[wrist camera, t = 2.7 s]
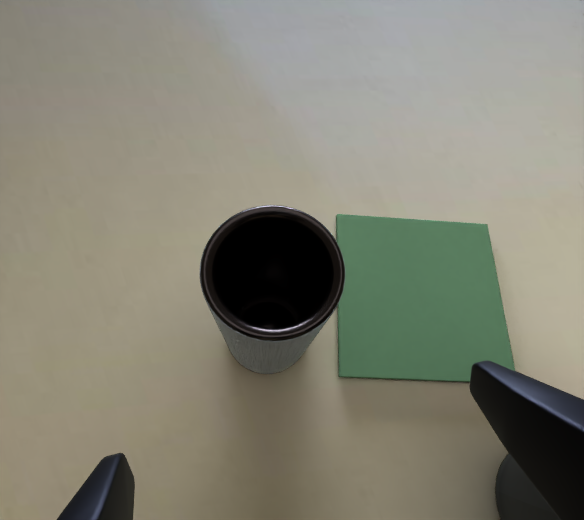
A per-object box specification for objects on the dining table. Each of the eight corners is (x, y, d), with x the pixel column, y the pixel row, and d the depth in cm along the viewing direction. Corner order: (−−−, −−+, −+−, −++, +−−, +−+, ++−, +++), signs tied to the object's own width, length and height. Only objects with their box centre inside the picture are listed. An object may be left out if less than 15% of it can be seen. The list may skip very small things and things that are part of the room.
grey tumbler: (263, 392, 20) (267, 375, 10) (210, 329, 21) (167, 260, 11) (323, 335, 21) (376, 274, 12) (270, 279, 22) (279, 179, 13)
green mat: (513, 384, 21) (518, 383, 21) (338, 377, 20) (340, 376, 20) (483, 226, 25) (487, 224, 24) (336, 216, 24) (337, 213, 24)
